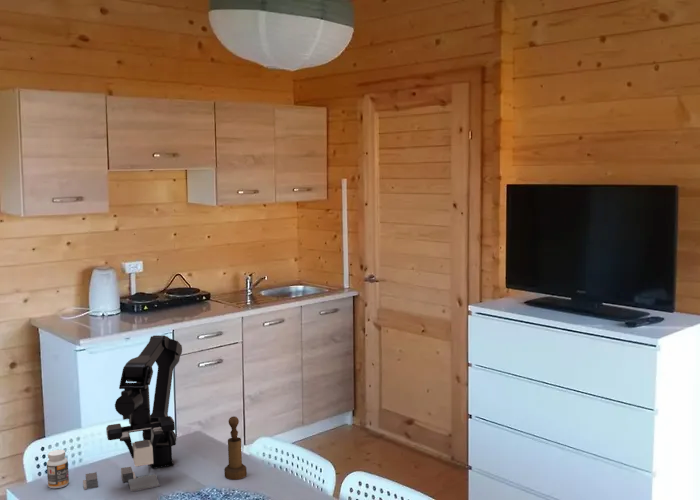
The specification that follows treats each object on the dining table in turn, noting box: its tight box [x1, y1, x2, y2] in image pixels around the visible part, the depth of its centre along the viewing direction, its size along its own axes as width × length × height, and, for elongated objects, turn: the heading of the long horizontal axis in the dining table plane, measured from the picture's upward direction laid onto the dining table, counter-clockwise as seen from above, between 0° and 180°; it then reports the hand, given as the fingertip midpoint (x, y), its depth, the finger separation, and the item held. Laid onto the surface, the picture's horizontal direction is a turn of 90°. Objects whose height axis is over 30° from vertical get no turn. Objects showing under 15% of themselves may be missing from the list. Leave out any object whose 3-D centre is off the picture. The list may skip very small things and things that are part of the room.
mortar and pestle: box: [223, 415, 248, 480], centre depth 216 cm, size 7×6×18 cm
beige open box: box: [131, 440, 153, 467], centre depth 210 cm, size 5×6×6 cm
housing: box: [82, 466, 137, 491], centre depth 214 cm, size 15×6×2 cm, turn 113°
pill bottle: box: [46, 449, 70, 489], centre depth 212 cm, size 6×6×10 cm
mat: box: [128, 473, 160, 492], centre depth 212 cm, size 8×8×1 cm
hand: (142, 456), depth 212 cm, fingers closed on beige open box, 5 cm apart
